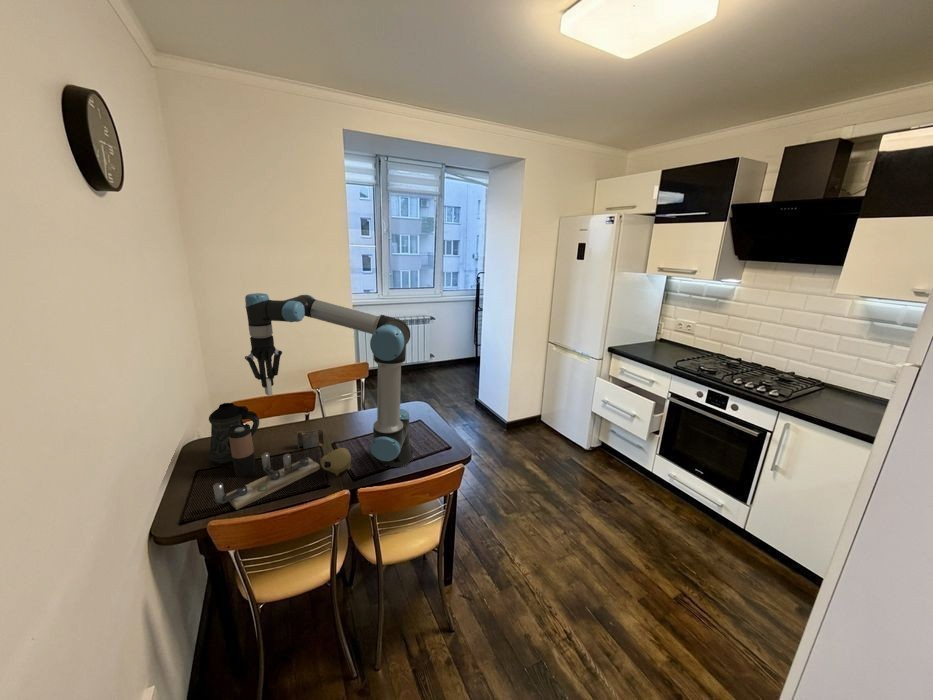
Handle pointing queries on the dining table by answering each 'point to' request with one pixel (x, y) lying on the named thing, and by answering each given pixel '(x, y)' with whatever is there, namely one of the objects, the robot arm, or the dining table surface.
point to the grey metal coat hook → (223, 499)
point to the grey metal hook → (269, 466)
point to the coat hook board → (272, 484)
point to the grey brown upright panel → (310, 438)
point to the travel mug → (242, 449)
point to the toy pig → (336, 461)
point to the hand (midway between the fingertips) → (268, 394)
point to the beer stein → (220, 424)
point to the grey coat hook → (290, 468)
